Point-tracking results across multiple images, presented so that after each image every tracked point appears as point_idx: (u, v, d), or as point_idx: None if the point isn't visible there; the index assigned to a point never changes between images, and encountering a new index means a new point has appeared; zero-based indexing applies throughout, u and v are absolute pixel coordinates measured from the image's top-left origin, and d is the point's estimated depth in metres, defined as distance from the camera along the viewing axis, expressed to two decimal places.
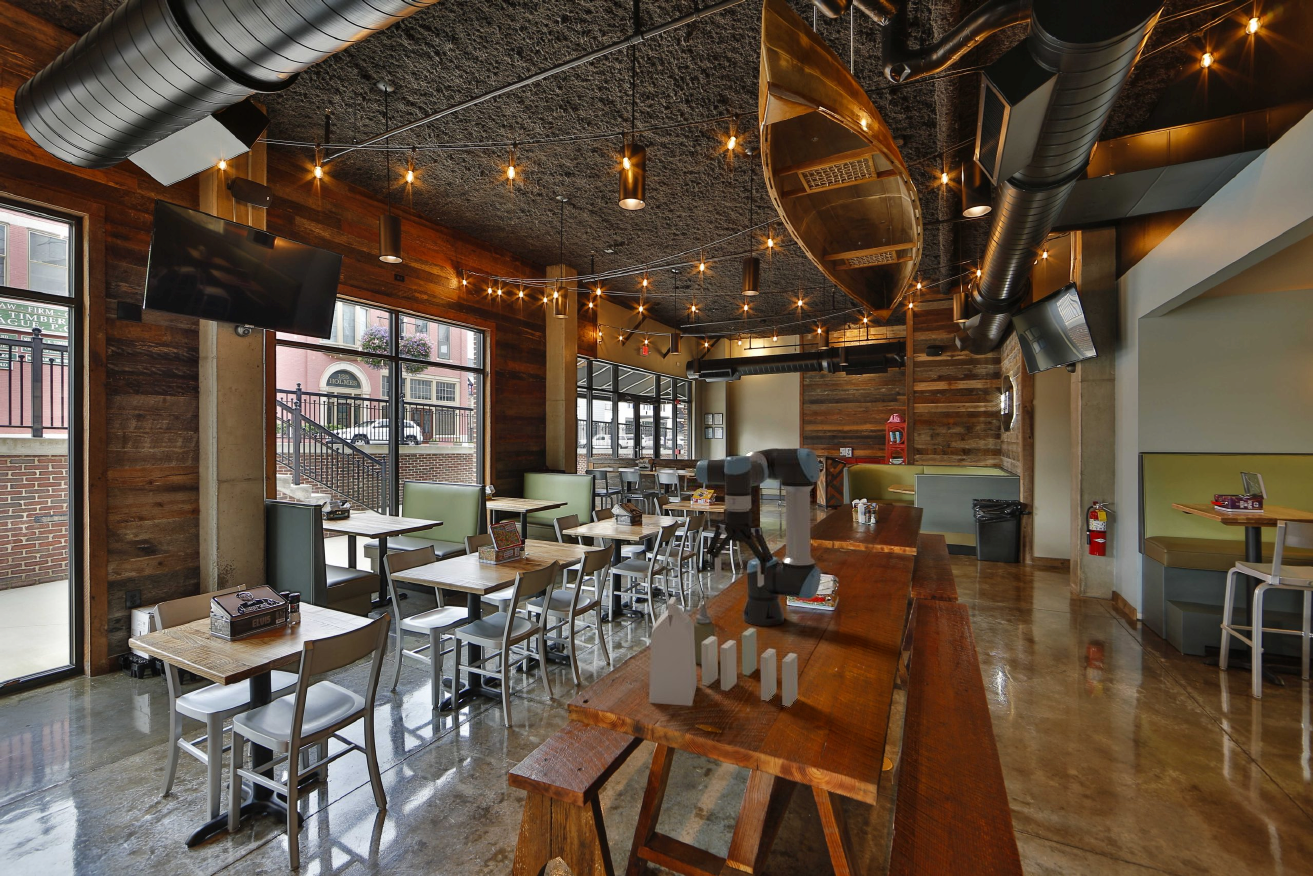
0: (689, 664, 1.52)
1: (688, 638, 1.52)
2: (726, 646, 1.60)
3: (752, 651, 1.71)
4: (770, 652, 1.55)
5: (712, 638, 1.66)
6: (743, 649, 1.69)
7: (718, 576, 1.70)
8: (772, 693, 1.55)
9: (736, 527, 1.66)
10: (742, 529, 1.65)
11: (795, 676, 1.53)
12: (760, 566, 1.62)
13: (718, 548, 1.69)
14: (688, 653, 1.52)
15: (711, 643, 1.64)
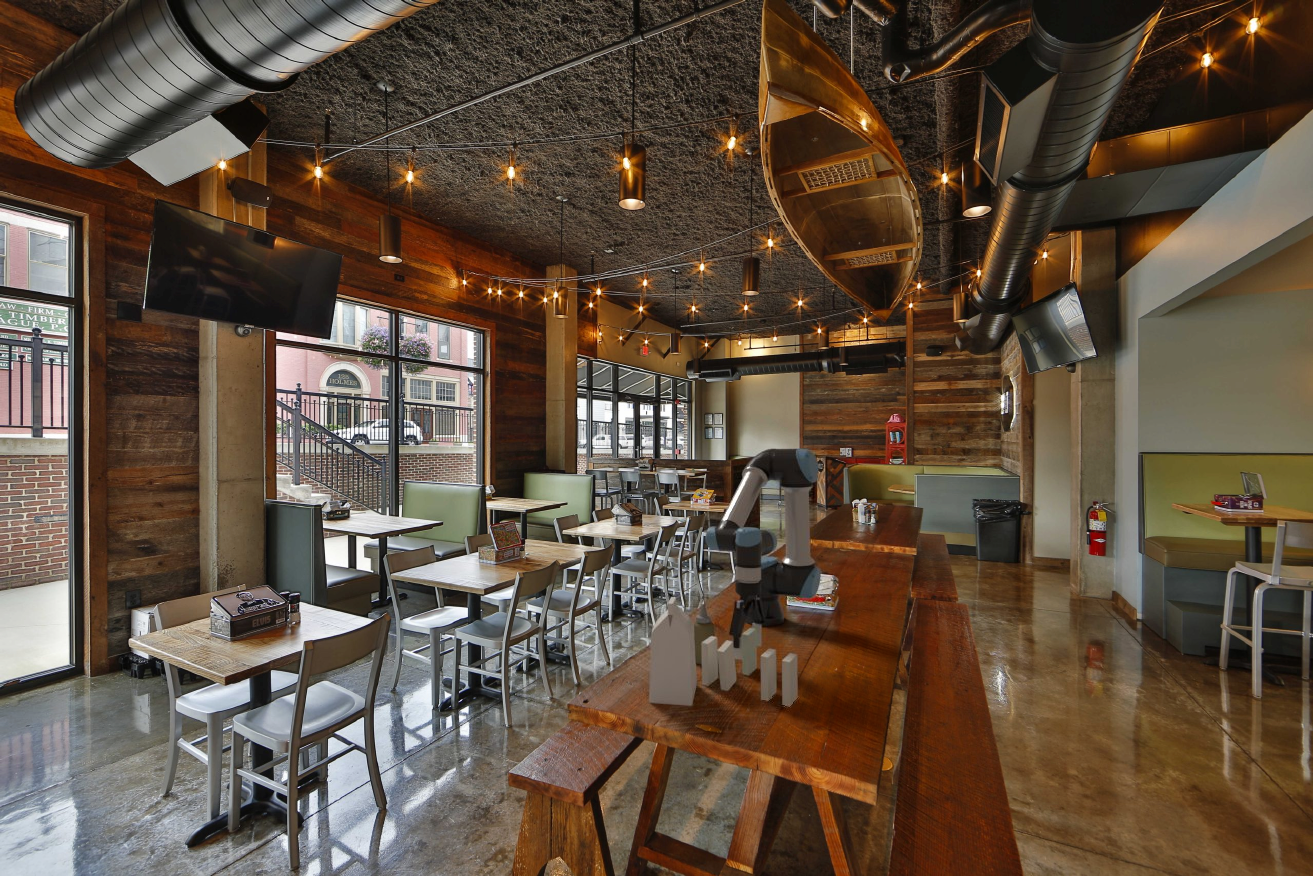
0: (689, 664, 1.51)
1: (688, 638, 1.52)
2: (723, 649, 1.58)
3: (752, 651, 1.71)
4: (770, 652, 1.55)
5: (712, 638, 1.66)
6: (743, 649, 1.69)
7: None
8: (772, 693, 1.55)
9: None
10: None
11: (795, 676, 1.53)
12: None
13: None
14: (688, 653, 1.52)
15: (711, 643, 1.64)
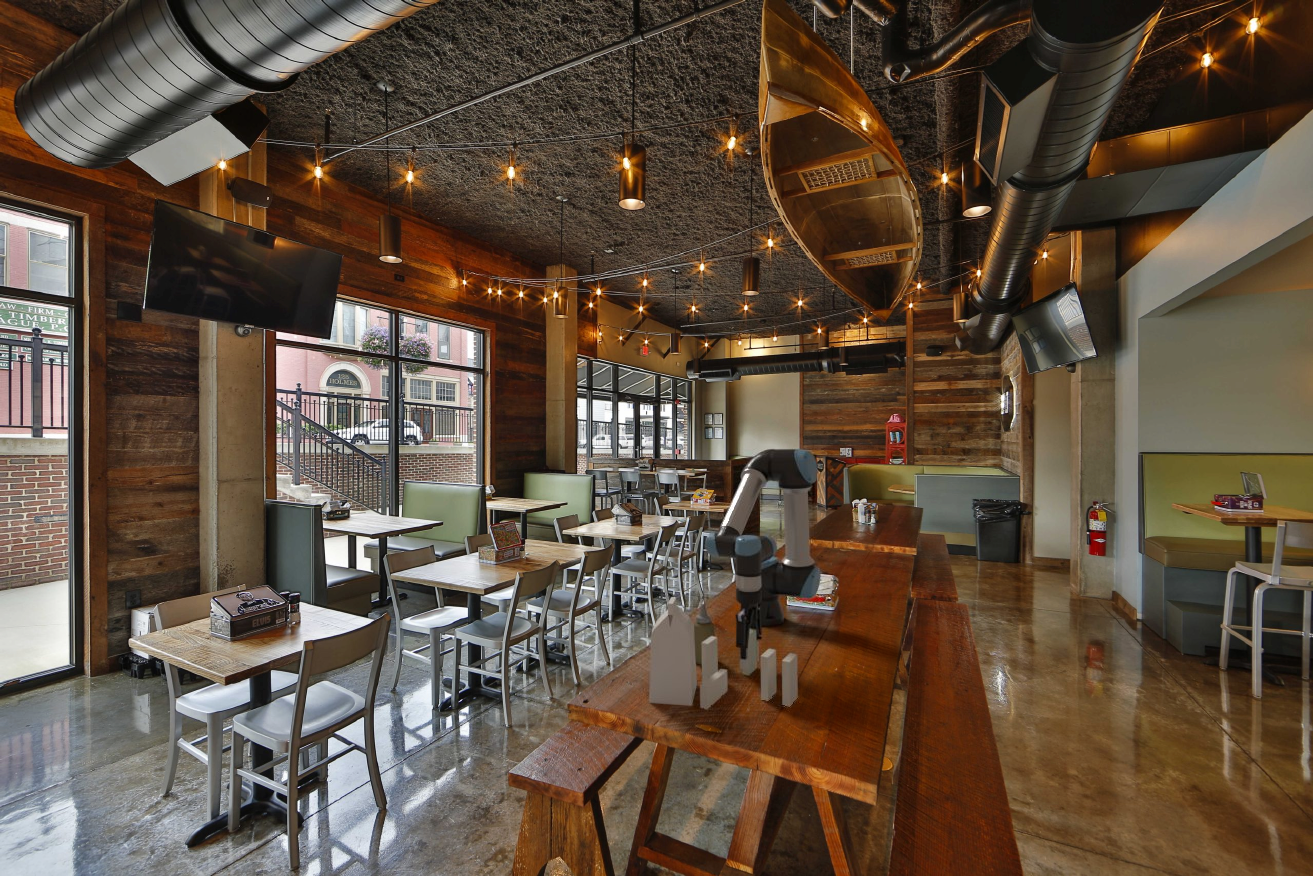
0: (689, 664, 1.51)
1: (688, 638, 1.52)
2: (704, 705, 1.49)
3: (752, 651, 1.71)
4: (770, 652, 1.55)
5: (712, 638, 1.66)
6: None
7: None
8: (772, 693, 1.55)
9: None
10: None
11: (795, 676, 1.53)
12: None
13: None
14: (688, 653, 1.52)
15: (711, 643, 1.64)
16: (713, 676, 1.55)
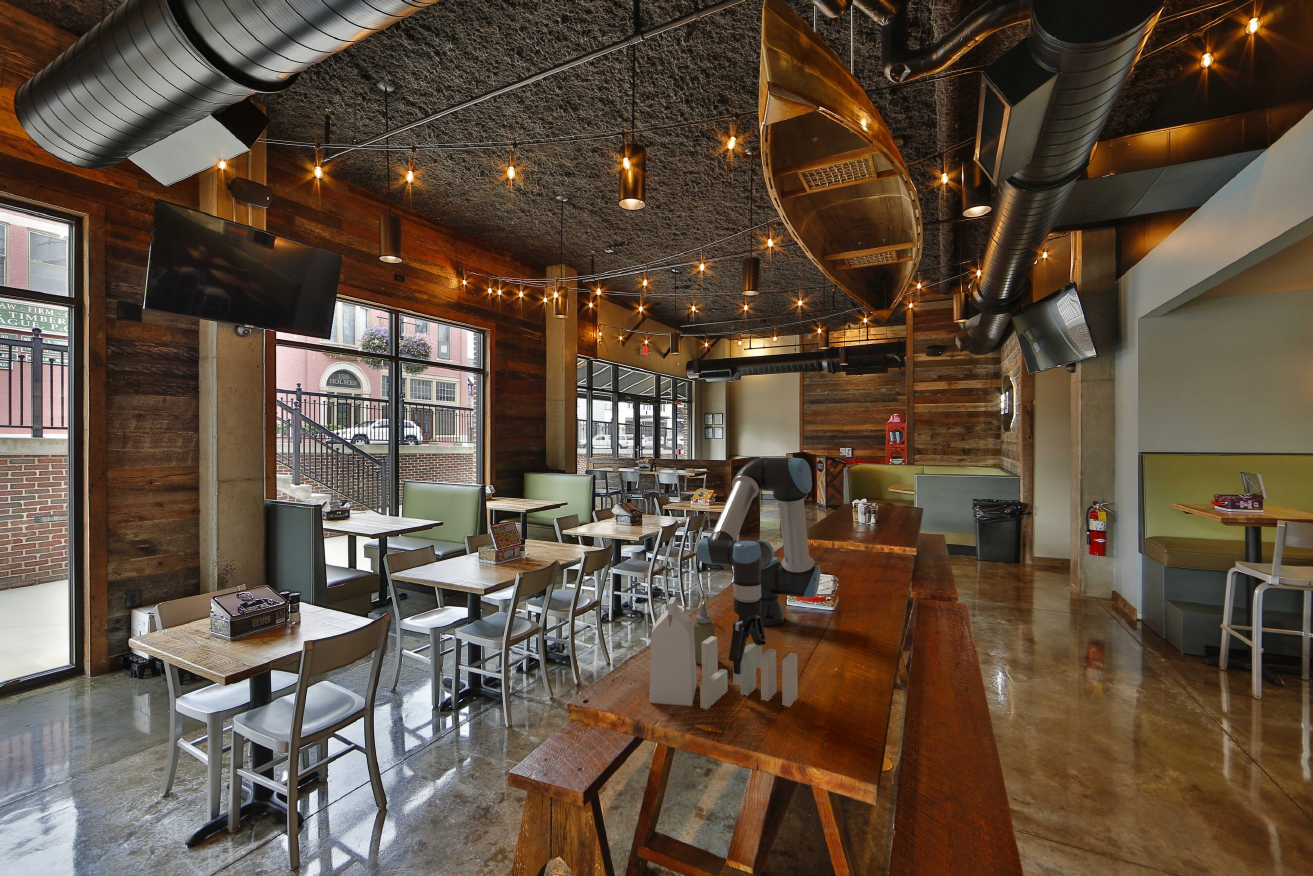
0: (689, 664, 1.52)
1: (688, 638, 1.52)
2: (704, 705, 1.49)
3: (751, 670, 1.58)
4: (770, 652, 1.55)
5: (712, 638, 1.66)
6: None
7: None
8: (772, 693, 1.55)
9: None
10: None
11: (795, 676, 1.53)
12: (734, 662, 1.54)
13: None
14: (688, 653, 1.52)
15: (711, 643, 1.64)
16: (713, 676, 1.55)
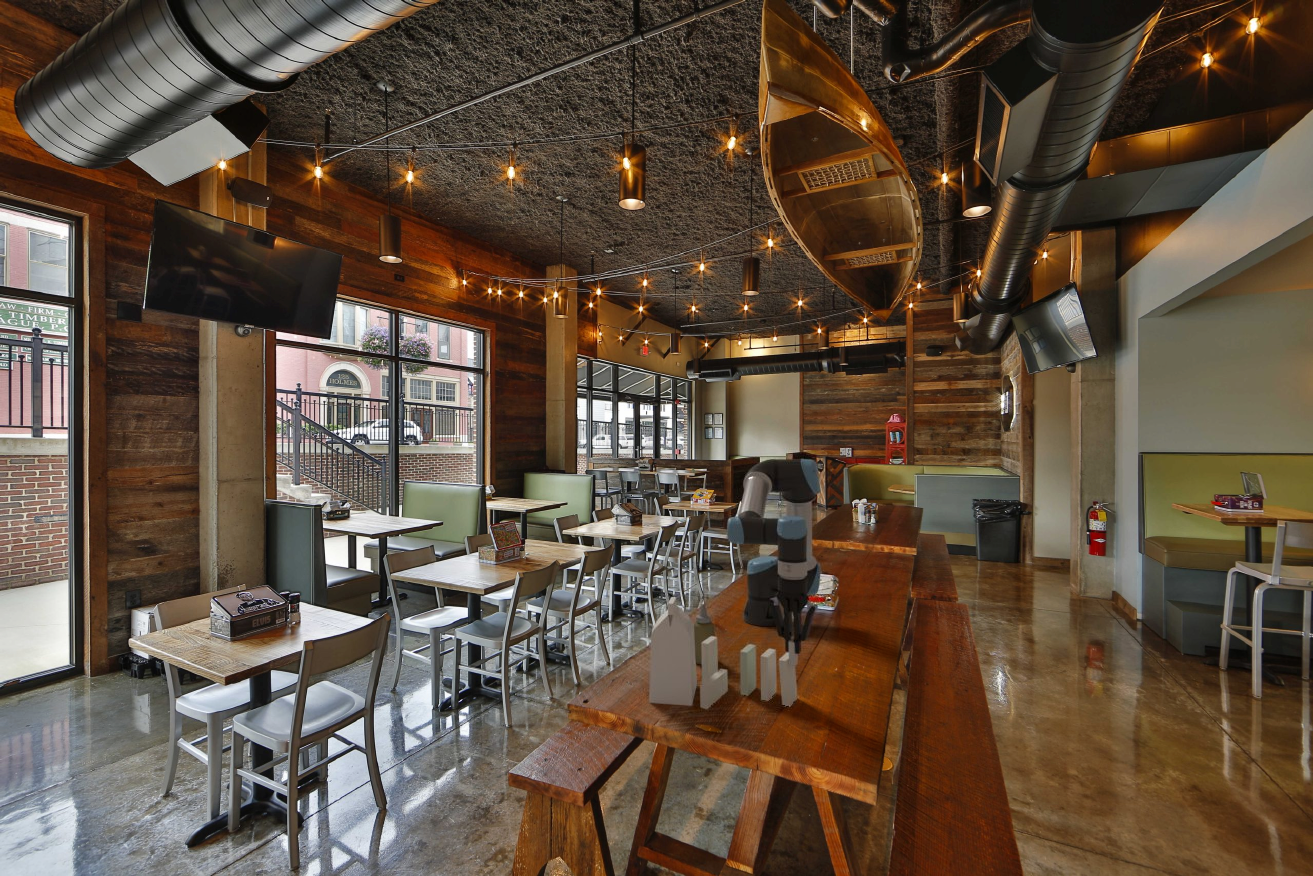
0: (689, 664, 1.51)
1: (688, 638, 1.52)
2: (704, 705, 1.49)
3: (751, 670, 1.58)
4: (770, 652, 1.55)
5: (712, 638, 1.66)
6: (741, 667, 1.56)
7: None
8: (772, 693, 1.55)
9: (790, 596, 1.50)
10: (799, 596, 1.49)
11: (793, 675, 1.53)
12: (794, 644, 1.50)
13: (786, 627, 1.51)
14: (688, 653, 1.52)
15: (711, 643, 1.64)
16: (713, 676, 1.55)
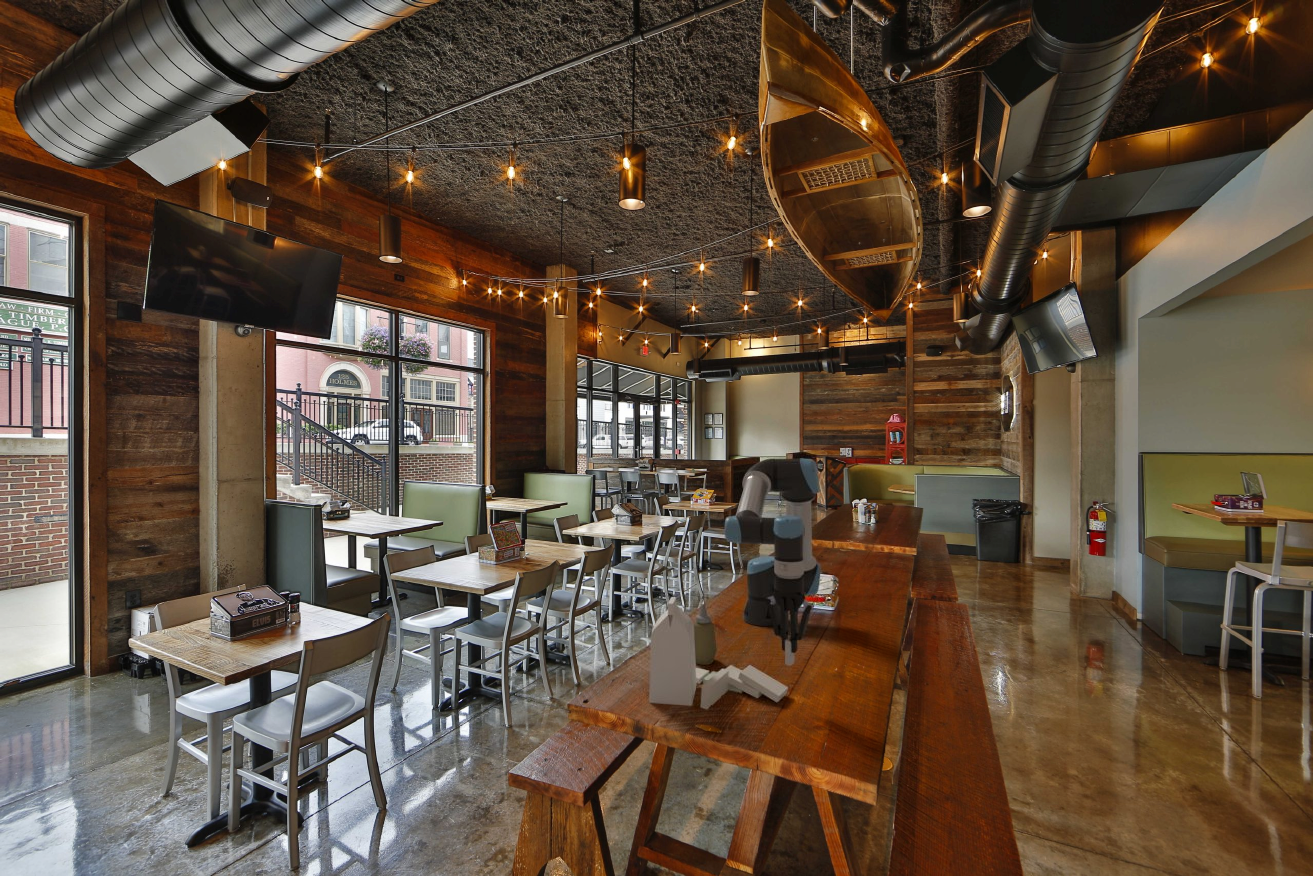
0: (689, 664, 1.52)
1: (688, 638, 1.52)
2: (705, 705, 1.49)
3: None
4: None
5: None
6: None
7: None
8: None
9: (787, 595, 1.51)
10: (796, 595, 1.49)
11: (764, 676, 1.58)
12: (790, 643, 1.51)
13: (782, 626, 1.51)
14: (688, 653, 1.52)
15: None
16: (715, 676, 1.55)
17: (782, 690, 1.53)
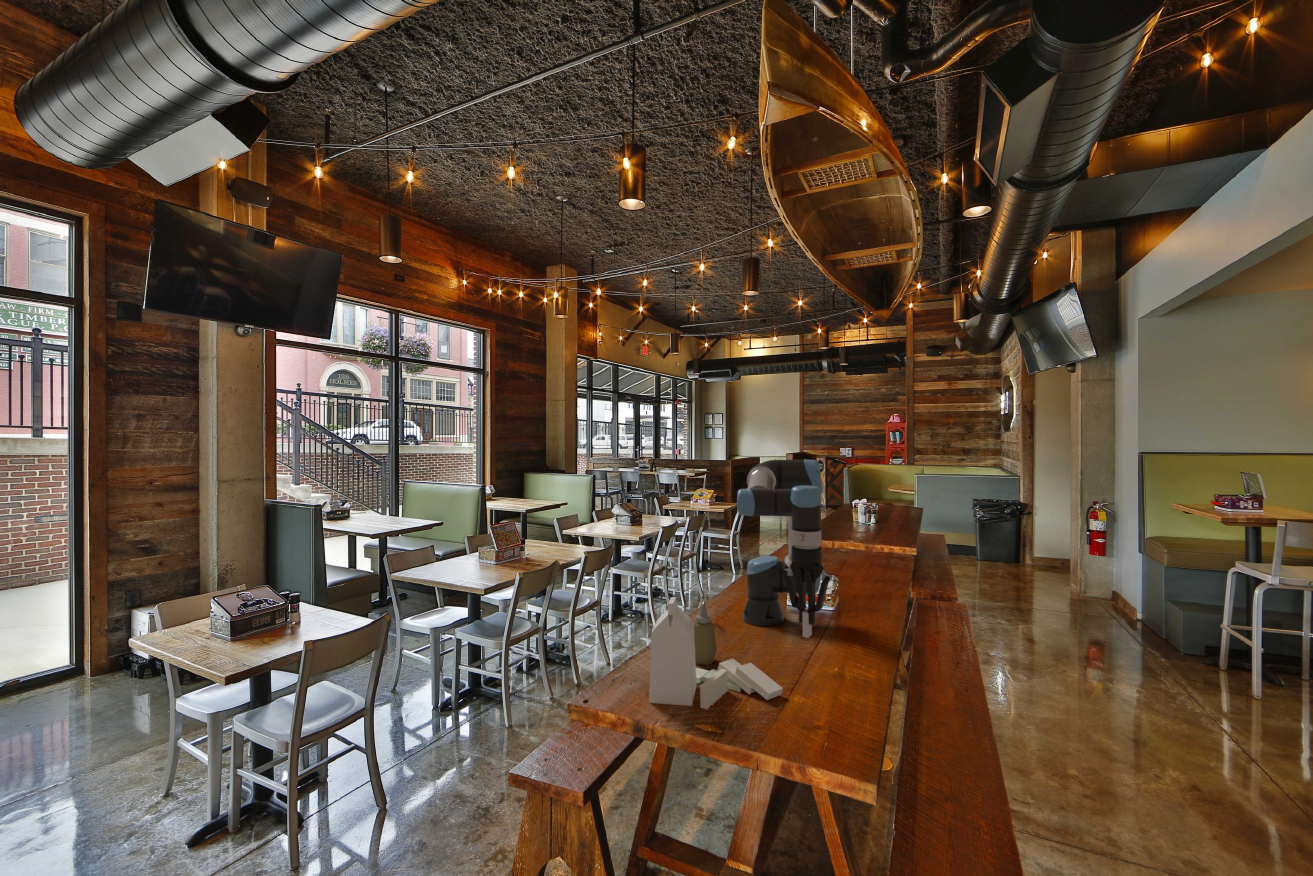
0: (689, 664, 1.52)
1: (688, 638, 1.52)
2: (704, 705, 1.49)
3: None
4: None
5: None
6: None
7: None
8: None
9: (804, 566, 1.48)
10: (813, 566, 1.46)
11: (761, 675, 1.59)
12: (808, 615, 1.48)
13: (800, 598, 1.49)
14: (688, 653, 1.52)
15: None
16: (713, 676, 1.55)
17: (775, 689, 1.54)
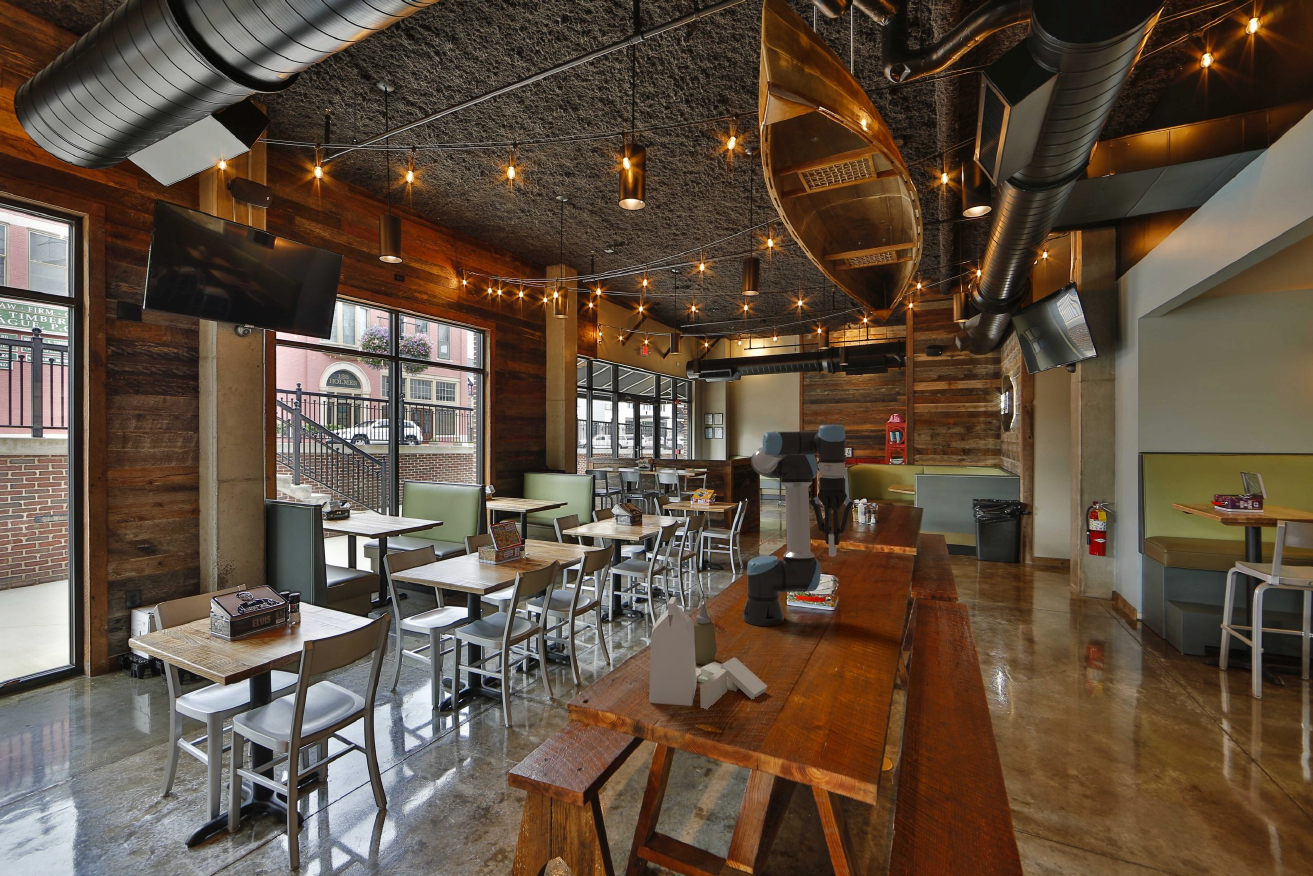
0: (689, 664, 1.52)
1: (688, 638, 1.52)
2: (704, 705, 1.49)
3: None
4: None
5: None
6: None
7: None
8: None
9: (830, 494, 1.70)
10: (838, 493, 1.68)
11: (745, 671, 1.60)
12: (834, 536, 1.69)
13: (826, 522, 1.70)
14: (688, 653, 1.52)
15: None
16: (713, 676, 1.55)
17: (760, 688, 1.56)
